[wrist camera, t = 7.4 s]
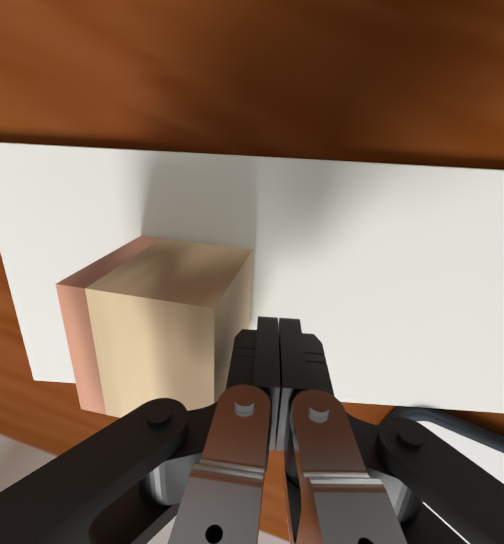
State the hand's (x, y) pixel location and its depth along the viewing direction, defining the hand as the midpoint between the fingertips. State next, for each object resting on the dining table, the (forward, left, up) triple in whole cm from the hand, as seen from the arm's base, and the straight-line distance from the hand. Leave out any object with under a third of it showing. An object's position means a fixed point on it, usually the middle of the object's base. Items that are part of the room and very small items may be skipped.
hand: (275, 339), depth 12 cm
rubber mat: (0, 0, -4) cm, 4 cm away
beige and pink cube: (+1, 0, 0) cm, 2 cm away
